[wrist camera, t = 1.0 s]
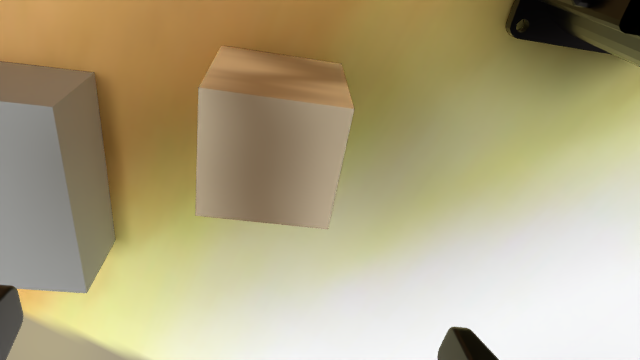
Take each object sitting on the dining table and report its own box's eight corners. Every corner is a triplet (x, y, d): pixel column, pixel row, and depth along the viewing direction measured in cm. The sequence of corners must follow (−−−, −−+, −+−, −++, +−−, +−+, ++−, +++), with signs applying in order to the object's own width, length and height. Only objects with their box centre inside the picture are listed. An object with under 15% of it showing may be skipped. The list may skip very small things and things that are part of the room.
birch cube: (341, 63, 19) (354, 109, 14) (321, 164, 21) (328, 229, 17) (221, 44, 18) (198, 87, 14) (216, 151, 21) (195, 215, 16)
